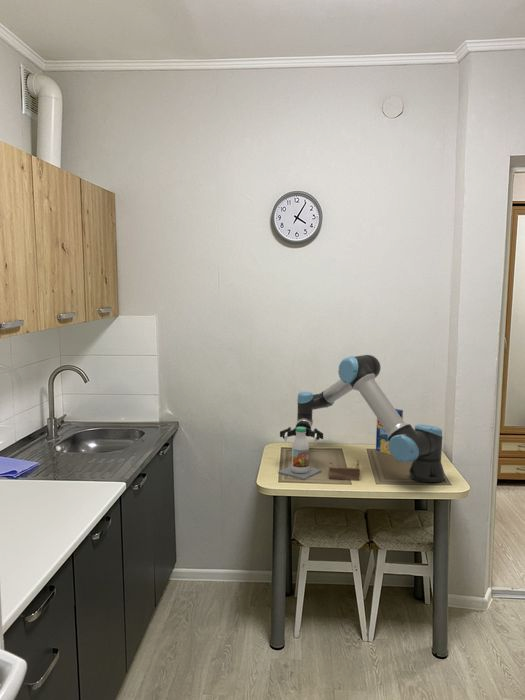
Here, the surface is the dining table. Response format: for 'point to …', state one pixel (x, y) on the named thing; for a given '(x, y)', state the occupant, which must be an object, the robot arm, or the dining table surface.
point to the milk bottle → (300, 452)
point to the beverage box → (384, 436)
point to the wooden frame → (343, 472)
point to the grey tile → (303, 476)
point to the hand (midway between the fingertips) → (300, 439)
